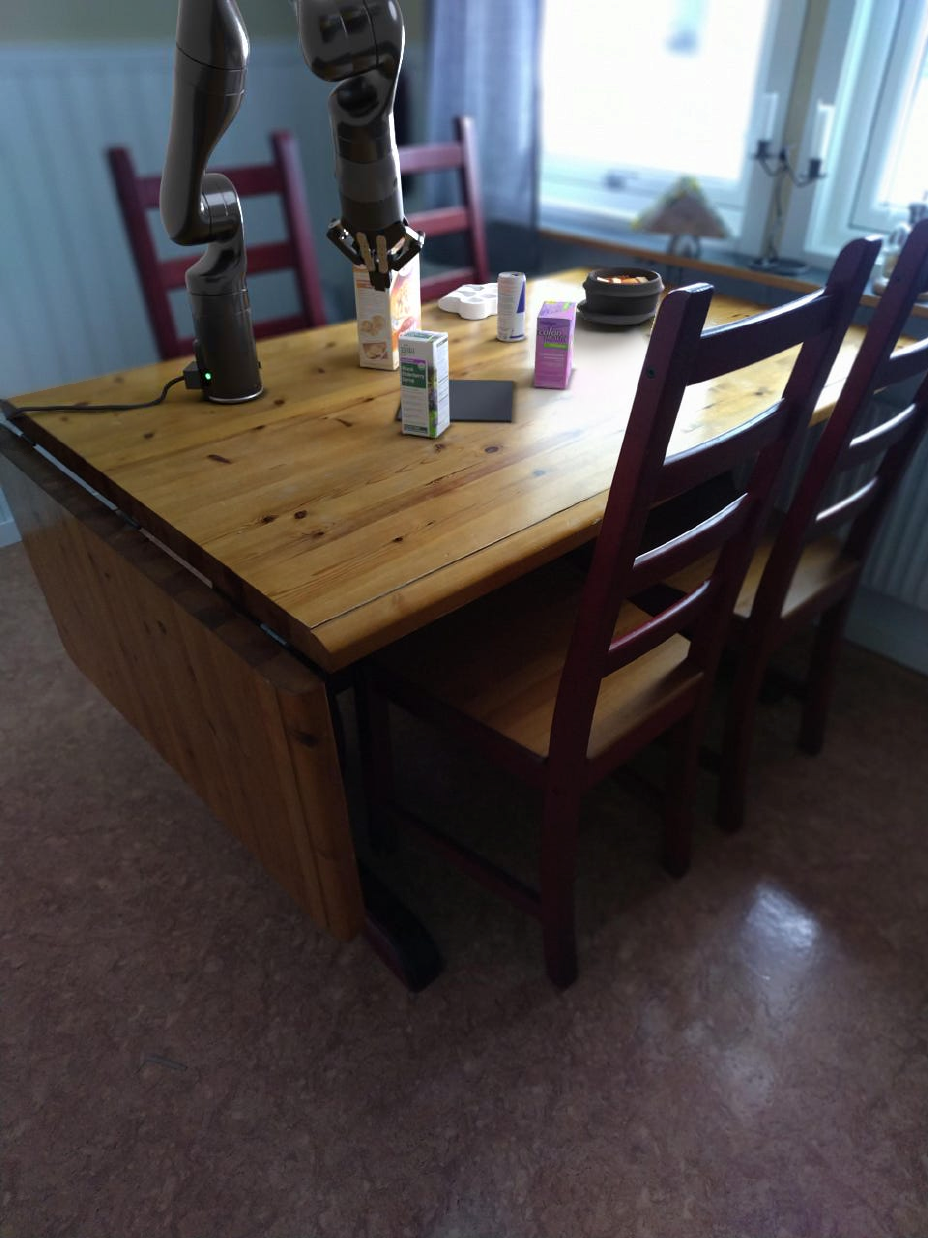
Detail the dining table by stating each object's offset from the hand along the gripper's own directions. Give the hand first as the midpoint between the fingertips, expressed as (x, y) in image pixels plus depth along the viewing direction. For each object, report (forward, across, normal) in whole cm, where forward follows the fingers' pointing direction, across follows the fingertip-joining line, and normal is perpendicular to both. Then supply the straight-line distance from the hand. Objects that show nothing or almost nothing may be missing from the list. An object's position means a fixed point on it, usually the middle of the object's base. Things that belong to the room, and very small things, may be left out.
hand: (381, 286), depth 116 cm
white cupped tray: (+57, -5, -50) cm, 76 cm away
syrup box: (+20, -7, +8) cm, 23 cm away
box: (+32, -24, -15) cm, 43 cm away
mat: (+26, -10, -3) cm, 28 cm away
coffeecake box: (+39, +6, -20) cm, 44 cm away
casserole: (+52, -35, -50) cm, 80 cm away
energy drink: (+45, -14, -33) cm, 57 cm away
